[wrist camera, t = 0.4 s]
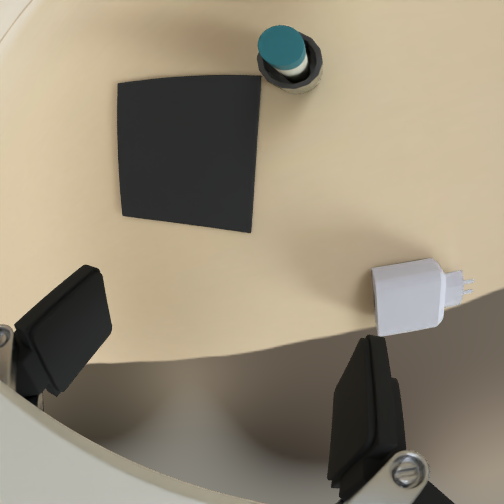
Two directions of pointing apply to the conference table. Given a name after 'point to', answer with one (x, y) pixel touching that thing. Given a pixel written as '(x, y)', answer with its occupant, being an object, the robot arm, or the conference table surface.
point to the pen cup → (303, 86)
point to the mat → (189, 149)
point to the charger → (414, 295)
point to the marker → (285, 52)
